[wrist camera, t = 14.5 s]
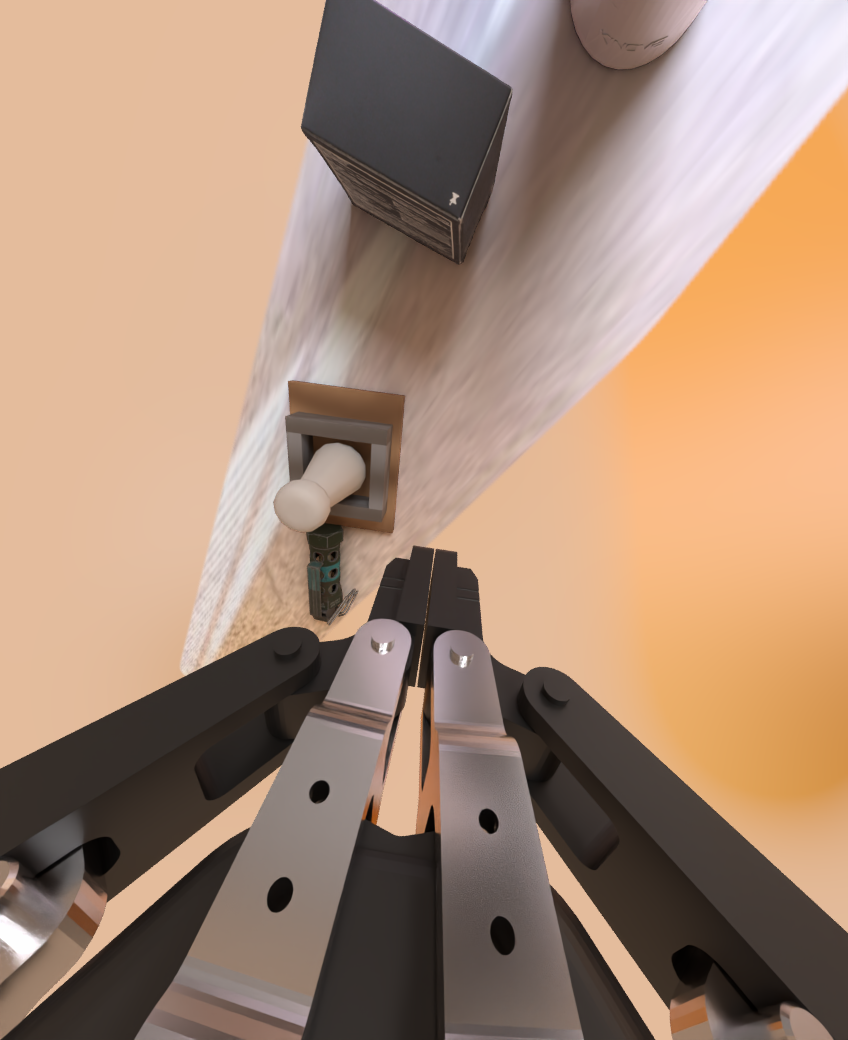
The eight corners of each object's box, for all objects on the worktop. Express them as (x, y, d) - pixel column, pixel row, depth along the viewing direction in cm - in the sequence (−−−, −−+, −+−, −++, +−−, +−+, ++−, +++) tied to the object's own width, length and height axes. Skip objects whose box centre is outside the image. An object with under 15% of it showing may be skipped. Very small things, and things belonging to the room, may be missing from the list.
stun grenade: (315, 514, 43) (318, 599, 49) (289, 538, 37) (296, 629, 44) (361, 523, 42) (358, 607, 49) (342, 549, 37) (341, 640, 43)
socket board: (292, 380, 35) (273, 383, 31) (405, 395, 35) (398, 400, 31) (300, 515, 42) (286, 530, 39) (393, 529, 42) (387, 545, 38)
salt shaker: (328, 489, 39) (273, 547, 28) (313, 441, 37) (247, 483, 25) (376, 484, 38) (340, 541, 27) (364, 434, 36) (319, 474, 24)
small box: (499, 175, 27) (521, 80, 17) (461, 267, 29) (462, 229, 20) (377, 101, 25) (330, -45, 16) (350, 205, 28) (296, 133, 19)
